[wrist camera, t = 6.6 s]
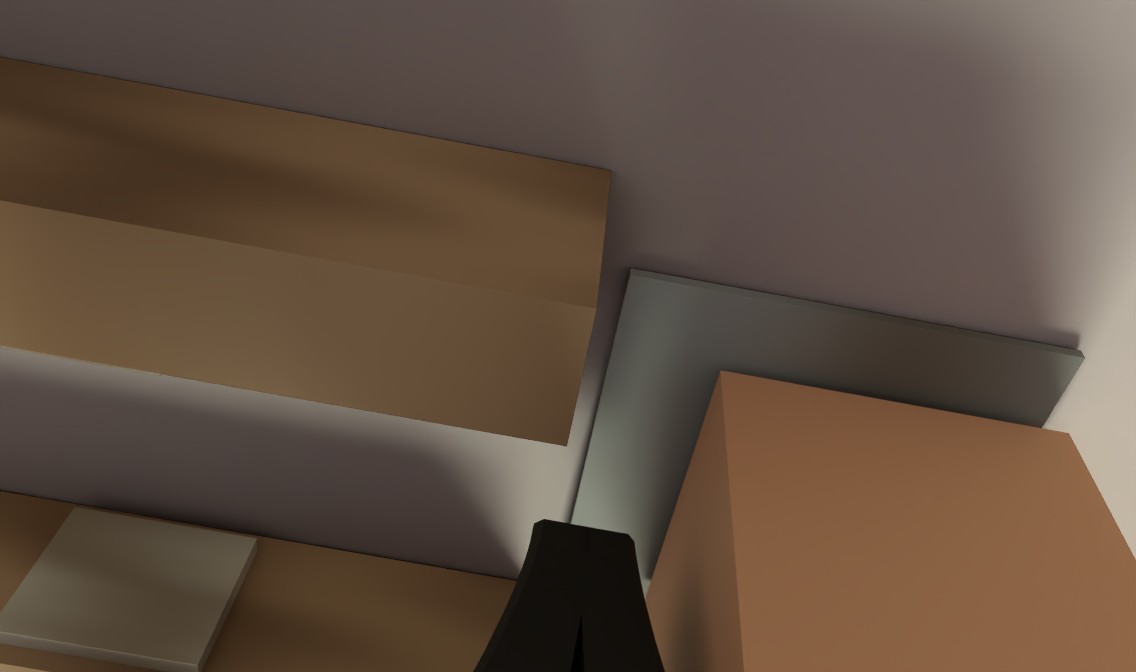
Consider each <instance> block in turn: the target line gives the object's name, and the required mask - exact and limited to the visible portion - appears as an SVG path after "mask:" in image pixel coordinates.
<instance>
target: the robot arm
mask: <svg viewBox="0 0 1136 672" xmlns="http://www.w3.org/2000/svg"><path fill="white" fill-rule="evenodd" d="M473 672H665V670H664V666H663V663H662V660H661V657H660V654H659V650H658V647H657V643H656V640H655V636H654V633H653V629H652V625H651V621H650V617H649V613H648V610H647V606H646V602H645V597H644V593H643V588H642V584H641V579H640V574H639V568H638V562H637V556H636V549H635V542H634V540H633V539H632V538H631V537H630V535H629V534H626V533H620V532H614V531H609V530H603V529H597V528H592V527H586V526H580V525H575V524H569V523H563V522H558V521H552V520H546V519H543V520H541V521H539V522H536V523H534V526H533V531H532V536H531V541H530V545H529V548H528V552H527V555H526V558H525V561H524V564H523V567H522V570H521V572H520V575H519V577H518V580H517V582H516V585H515V587H514V590H513V592H512V594H511V597H510V599H509V601H508V604H507V606H506V608H505V610H504V612H503V614H502V616H501V618H500V620H499V622H498V624H497V626H496V628H495V630H494V632H493V634H492V637H491V639H490V641H489V643H488V645H487V647H486V649H485V651H484V653H483V655H482V656H481V658H480V660H479V662H478V664H477V666H476V667H475V669H474V671H473Z"/></svg>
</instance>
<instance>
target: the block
mask: <svg viewBox="0 0 1136 672" xmlns="http://www.w3.org/2000/svg"><path fill="white" fill-rule="evenodd" d="M646 606H647V610H648V613H649V617H650V621H651V625H652V629H653V633H654V636H655V640H656V643H657V647H658V650H659V654H660V657H661V660H662V663H663V666H664V670H665V672H1136V560H1135V558H1134V556H1133V554H1132V552H1131V550H1130V548H1129V546H1128V545H1127V543H1126V541H1125V539H1124V537H1123V535H1122V533H1121V531H1120V529H1119V527H1118V526H1117V524H1116V522H1115V520H1114V518H1113V516H1112V514H1111V512H1110V510H1109V508H1108V507H1107V505H1106V503H1105V501H1104V499H1103V497H1102V495H1101V493H1100V491H1099V490H1098V488H1097V486H1096V484H1095V482H1094V480H1093V478H1092V476H1091V474H1090V472H1089V471H1088V469H1087V467H1086V465H1085V463H1084V461H1083V459H1082V457H1081V455H1080V453H1079V452H1078V450H1077V448H1076V446H1075V444H1074V442H1073V440H1072V438H1071V436H1070V434H1069V433H1064V432H1059V431H1053V430H1048V429H1042V428H1037V427H1031V426H1026V425H1020V424H1015V423H1009V422H1004V421H998V420H993V419H987V418H981V417H976V416H970V415H965V414H959V413H954V412H948V411H943V410H937V409H932V408H926V407H921V406H915V405H910V404H904V403H899V402H893V401H888V400H882V399H876V398H871V397H865V396H860V395H854V394H849V393H843V392H838V391H832V390H827V389H821V388H816V387H810V386H805V385H799V384H794V383H788V382H782V381H777V380H771V379H766V378H760V377H755V376H749V375H744V374H738V373H733V372H727V371H722V370H720V373H719V376H718V379H717V382H716V385H715V388H714V391H713V394H712V397H711V400H710V403H709V406H708V409H707V412H706V416H705V419H704V422H703V425H702V428H701V431H700V434H699V437H698V440H697V443H696V446H695V449H694V452H693V455H692V458H691V461H690V464H689V467H688V470H687V473H686V476H685V479H684V482H683V485H682V488H681V491H680V494H679V497H678V500H677V503H676V507H675V510H674V513H673V516H672V519H671V522H670V525H669V528H668V531H667V534H666V537H665V540H664V543H663V546H662V549H661V552H660V555H659V558H658V561H657V564H656V567H655V570H654V573H653V576H652V579H651V582H650V585H649V588H648V591H647V594H646Z"/></svg>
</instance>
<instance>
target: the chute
mask: <svg viewBox="0 0 1136 672" xmlns="http://www.w3.org/2000/svg"><path fill="white" fill-rule="evenodd" d="M610 180H611V171H610V170H604V169H599V168H594V167H588V166H583V165H577V164H572V163H567V162H561V161H556V160H551V159H545V158H540V157H534V156H529V155H524V154H518V153H513V152H508V151H502V150H497V149H491V148H486V147H481V146H475V145H470V144H464V143H459V142H454V141H448V140H443V139H438V138H432V137H427V136H421V135H416V134H411V133H405V132H400V131H395V130H389V129H384V128H378V127H373V126H368V125H362V124H357V123H352V122H346V121H341V120H335V119H330V118H325V117H319V116H314V115H308V114H303V113H298V112H292V111H287V110H282V109H276V108H271V107H265V106H260V105H255V104H249V103H244V102H239V101H233V100H228V99H222V98H217V97H212V96H206V95H201V94H195V93H190V92H185V91H179V90H174V89H169V88H163V87H158V86H152V85H147V84H142V83H136V82H131V81H126V80H120V79H115V78H109V77H104V76H99V75H93V74H88V73H82V72H77V71H72V70H66V69H61V68H56V67H50V66H45V65H39V64H34V63H29V62H23V61H18V60H13V59H7V58H2V57H0V347H2V348H8V349H14V350H19V351H25V352H30V353H36V354H42V355H47V356H53V357H58V358H64V359H70V360H75V361H81V362H87V363H92V364H98V365H103V366H109V367H115V368H120V369H126V370H132V371H137V372H143V373H148V374H154V375H160V376H161V375H162V374H163V375H169V376H175V377H180V378H186V379H191V380H197V381H203V382H208V383H214V384H220V385H225V386H231V387H236V388H242V389H248V390H253V391H259V392H264V393H270V394H276V395H281V396H287V397H293V398H298V399H304V400H309V401H315V402H321V403H326V404H332V405H337V406H343V407H349V408H354V409H360V410H366V411H371V412H377V413H382V414H388V415H394V416H399V417H405V418H410V419H416V420H422V421H427V422H433V423H439V424H444V425H450V426H455V427H461V428H467V429H472V430H478V431H483V432H489V433H495V434H500V435H506V436H512V437H517V438H523V439H528V440H534V441H540V442H545V443H551V444H557V445H562V446H567V443H568V439H569V434H570V429H571V425H572V420H573V416H574V411H575V406H576V402H577V397H578V393H579V388H580V384H581V379H582V374H583V370H584V365H585V361H586V356H587V351H588V347H589V342H590V338H591V333H592V328H593V324H594V319H595V315H596V310H597V302H598V293H599V283H600V274H601V265H602V255H603V246H604V236H605V227H606V218H607V208H608V199H609V190H610ZM1084 359H1085V357H1084V355H1083V354H1082V352H1081V351H1080V350H1075V349H1069V348H1064V347H1058V346H1053V345H1047V344H1042V343H1036V342H1031V341H1026V340H1020V339H1015V338H1009V337H1004V336H998V335H993V334H987V333H982V332H976V331H971V330H966V329H960V328H955V327H949V326H944V325H938V324H933V323H927V322H922V321H916V320H911V319H906V318H900V317H895V316H889V315H884V314H878V313H873V312H867V311H862V310H856V309H851V308H846V307H840V306H835V305H829V304H824V303H818V302H813V301H807V300H802V299H796V298H791V297H785V296H780V295H775V294H769V293H764V292H758V291H753V290H747V289H742V288H736V287H731V286H725V285H720V284H715V283H709V282H704V281H698V280H693V279H687V278H682V277H676V276H671V275H665V274H660V273H655V272H649V271H644V270H638V269H633V268H631V269H630V273H629V278H628V282H627V286H626V290H625V295H624V299H623V303H622V307H621V311H620V316H619V320H618V324H617V328H616V333H615V337H614V341H613V345H612V349H611V354H610V358H609V362H608V366H607V371H606V375H605V379H604V383H603V387H602V392H601V396H600V400H599V404H598V408H597V413H596V417H595V421H594V425H593V430H592V434H591V438H590V442H589V446H588V451H587V455H586V459H585V463H584V468H583V472H582V476H581V480H580V484H579V489H578V493H577V497H576V501H575V506H574V510H573V514H572V518H571V522H570V524H575V525H580V526H586V527H592V528H597V529H603V530H609V531H614V532H620V533H626V534H629V535H630V537H631V538H632V539H633V540H634V542H635V549H636V556H637V562H638V568H639V574H640V579H641V584H642V588H643V593H644V597H645V602H646V594H647V591H648V588H649V585H650V582H651V579H652V576H653V573H654V570H655V567H656V564H657V561H658V558H659V555H660V552H661V549H662V546H663V543H664V540H665V537H666V534H667V531H668V528H669V525H670V522H671V519H672V516H673V513H674V510H675V507H676V503H677V500H678V497H679V494H680V491H681V488H682V485H683V482H684V479H685V476H686V473H687V470H688V467H689V464H690V461H691V458H692V455H693V452H694V449H695V446H696V443H697V440H698V437H699V434H700V431H701V428H702V425H703V422H704V419H705V416H706V412H707V409H708V406H709V403H710V400H711V397H712V394H713V391H714V388H715V385H716V382H717V379H718V376H719V373H720V370H722V371H727V372H733V373H738V374H744V375H749V376H755V377H760V378H766V379H771V380H777V381H782V382H788V383H794V384H799V385H805V386H810V387H816V388H821V389H827V390H832V391H838V392H843V393H849V394H854V395H860V396H865V397H871V398H876V399H882V400H888V401H893V402H899V403H904V404H910V405H915V406H921V407H926V408H932V409H937V410H943V411H948V412H954V413H959V414H965V415H970V416H976V417H981V418H987V419H993V420H998V421H1004V422H1009V423H1015V424H1020V425H1026V426H1031V427H1037V428H1042V426H1043V425H1044V423H1045V422H1046V420H1047V418H1048V417H1049V415H1050V414H1051V412H1052V410H1053V409H1054V407H1055V406H1056V404H1057V402H1058V401H1059V399H1060V397H1061V396H1062V394H1063V393H1064V391H1065V389H1066V388H1067V386H1068V385H1069V383H1070V381H1071V380H1072V378H1073V377H1074V375H1075V373H1076V372H1077V370H1078V368H1079V367H1080V365H1081V364H1082V362H1083V360H1084ZM516 582H517V581H514V580H508V579H502V578H497V577H491V576H485V575H479V574H474V573H468V572H462V571H456V570H451V569H445V568H439V567H434V566H428V565H422V564H416V563H411V562H405V561H399V560H393V559H388V558H382V557H376V556H370V555H365V554H359V553H353V552H347V551H342V550H336V549H330V548H324V547H319V546H313V545H307V544H301V543H296V542H290V541H284V540H278V539H273V538H267V537H261V536H255V535H250V534H244V533H238V532H232V531H227V530H221V529H215V528H210V527H204V526H198V525H192V524H187V523H181V522H175V521H169V520H164V519H158V518H152V517H146V516H141V515H135V514H129V513H123V512H118V511H112V510H106V509H100V508H95V507H89V506H83V505H77V504H72V503H66V502H60V501H54V500H49V499H43V498H37V497H31V496H26V495H20V494H14V493H9V492H3V491H0V672H473V671H474V669H475V667H476V666H477V664H478V662H479V660H480V658H481V656H482V655H483V653H484V651H485V649H486V647H487V645H488V643H489V641H490V639H491V637H492V634H493V632H494V630H495V628H496V626H497V624H498V622H499V620H500V618H501V616H502V614H503V612H504V610H505V608H506V606H507V604H508V601H509V599H510V597H511V594H512V592H513V590H514V587H515V585H516Z"/></svg>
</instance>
